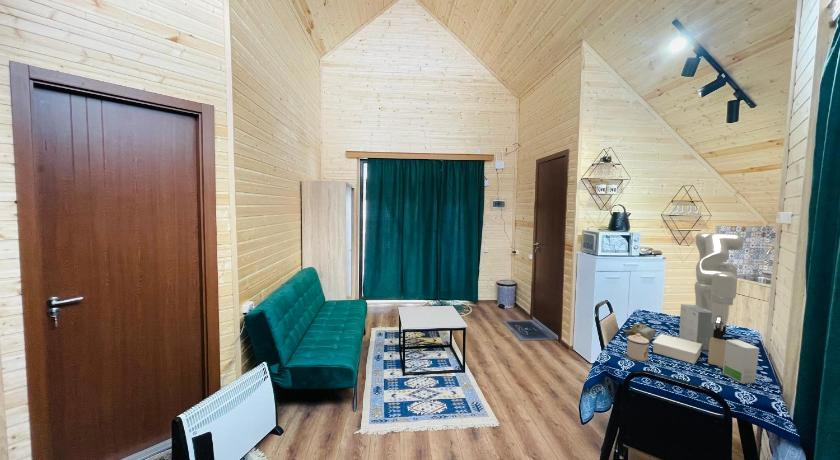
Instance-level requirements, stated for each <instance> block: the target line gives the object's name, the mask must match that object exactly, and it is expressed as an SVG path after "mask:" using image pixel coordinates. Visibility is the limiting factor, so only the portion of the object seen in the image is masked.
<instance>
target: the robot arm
mask: <svg viewBox="0 0 840 460" xmlns="http://www.w3.org/2000/svg"><path fill="white" fill-rule="evenodd" d="M694 241H695V244H696V248H697V250H698V253H699V260H698V262H697V263H696V266H695V277H696V282H695V283H694V292H695V293H694V294H695V304H694V305H696V306H699V307H701V308H704V309H706V310H708V311H711V312H712V319H711V323H712V324H713V323H714V333H713V337H714V338H717V339H721V340H724V335H726V333H727V326H726V325H727V324H728V320H729V314H730V312H729V311H730V306H734V299H735V298H736V297H737V288H738V269H737V267H736V266H735V264H731V263H725V262H727V261H729V258H730V255H729V251H740V250H742V249H743V248H744V247H743V246H744V239H743V237H742V236H741V235H740V234H737V233H723V232H722V233H720V232H719V233H718V232H717V233H716V232H714V233H713V232H703V233H702V232H701V233H697V234H696V236H695V240H694Z"/></svg>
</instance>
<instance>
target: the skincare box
mask: <svg viewBox="0 0 840 460" xmlns="http://www.w3.org/2000/svg"><path fill="white" fill-rule="evenodd" d="M759 354H760V348H759V347H757V346H755V345H753V344H751V343H748V342H745V341H743V340H740V339H726V347H725V356H724V365H723V367H722V374H723V375H725V376H727V377H729V378H730V379H733V380H735V381H736V382H738V383H741V384H756V378H757V377H756V376H757V370H758V360H759Z"/></svg>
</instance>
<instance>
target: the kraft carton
mask: <svg viewBox="0 0 840 460" xmlns="http://www.w3.org/2000/svg"><path fill="white" fill-rule="evenodd" d="M726 340H727V339H726ZM726 340H725V339H722V340H721V339H717V338H714V337H711V339H710V340H709V351H708V360H707V364H710V365H713V366H714V365H715V366H717V367H720V368H721V367H722V368H723V365H724V356H725V347H726Z"/></svg>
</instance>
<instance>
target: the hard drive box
mask: <svg viewBox="0 0 840 460" xmlns="http://www.w3.org/2000/svg"><path fill="white" fill-rule="evenodd" d="M679 313H680V314H679V315H680V316H679V317H680V318H679V333H678V338H680V339H684V340H688V341H692V342H696V343H701V344H702V346H701V351H708V352H709V340H710V339H711V337H713V333H714V323H713V324H712V323H711V319H712V312H711V311H708V310H706V309H704V308H701V307H699V306H696V305H695V304H684V303H683V304H682V303H681V304H680V312H679Z"/></svg>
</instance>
